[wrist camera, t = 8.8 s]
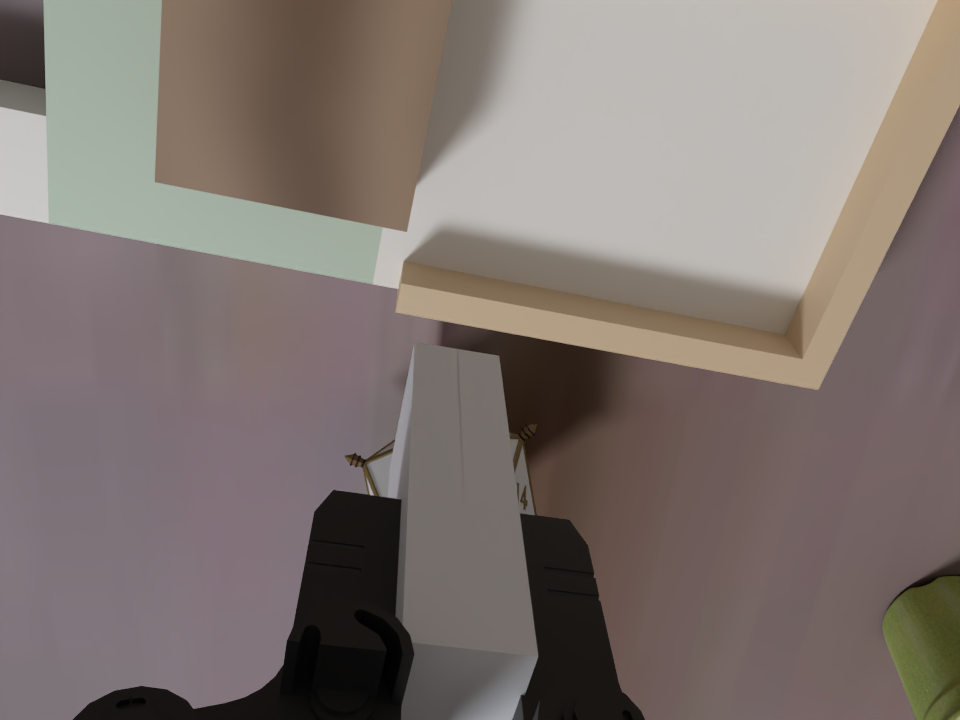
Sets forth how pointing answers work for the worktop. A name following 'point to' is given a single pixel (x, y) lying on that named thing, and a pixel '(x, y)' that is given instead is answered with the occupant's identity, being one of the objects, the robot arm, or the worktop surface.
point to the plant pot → (928, 647)
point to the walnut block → (300, 102)
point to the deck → (564, 169)
